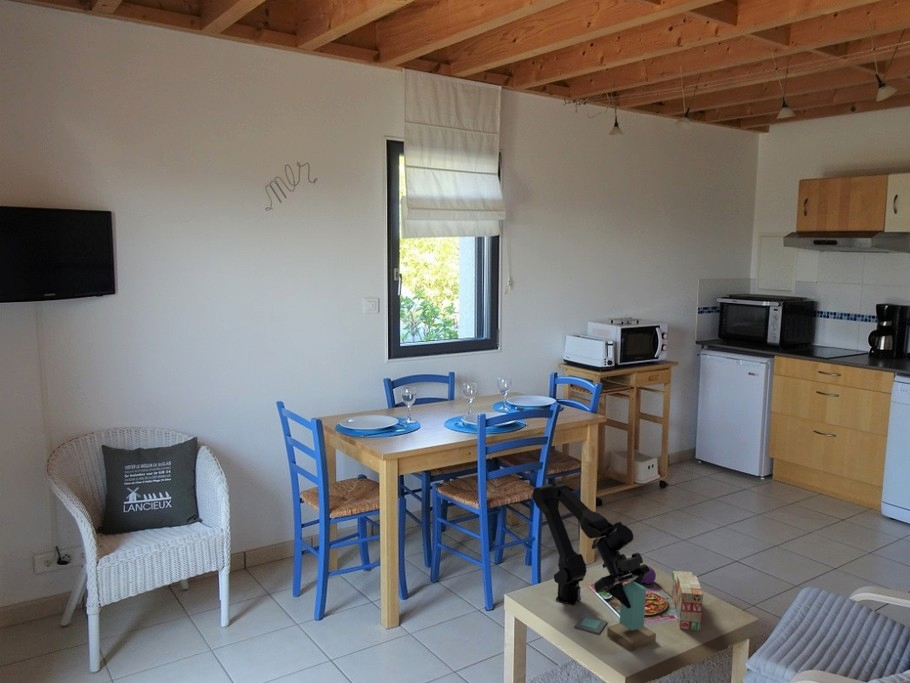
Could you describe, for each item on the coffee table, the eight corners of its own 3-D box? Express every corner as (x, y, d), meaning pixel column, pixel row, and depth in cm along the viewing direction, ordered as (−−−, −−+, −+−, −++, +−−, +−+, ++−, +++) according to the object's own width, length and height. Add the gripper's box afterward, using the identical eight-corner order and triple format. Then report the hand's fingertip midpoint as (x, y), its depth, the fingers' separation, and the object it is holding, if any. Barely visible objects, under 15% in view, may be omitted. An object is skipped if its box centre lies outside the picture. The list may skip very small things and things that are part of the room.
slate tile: (573, 627, 222) (573, 625, 222) (582, 615, 229) (582, 614, 229) (598, 634, 218) (598, 632, 218) (607, 622, 225) (607, 620, 225)
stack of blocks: (671, 596, 243) (673, 561, 241) (690, 598, 242) (692, 563, 240) (679, 629, 222) (681, 591, 220) (700, 631, 221) (703, 593, 219)
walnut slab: (606, 636, 218) (607, 627, 218) (630, 627, 223) (631, 618, 223) (631, 652, 210) (632, 642, 209) (655, 642, 215) (656, 633, 215)
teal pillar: (619, 623, 217) (621, 585, 215) (631, 618, 219) (633, 581, 218) (631, 630, 213) (633, 592, 211) (643, 626, 215) (645, 588, 214)
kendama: (597, 573, 251) (649, 562, 256) (599, 590, 251) (651, 579, 256) (605, 577, 245) (657, 567, 250) (607, 595, 245) (659, 584, 250)
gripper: (602, 552, 211) (628, 603, 203) (647, 539, 221) (674, 587, 213) (583, 567, 219) (607, 617, 211) (627, 553, 229) (652, 601, 221)
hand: (636, 605), depth 214 cm, fingers closed on teal pillar, 5 cm apart
